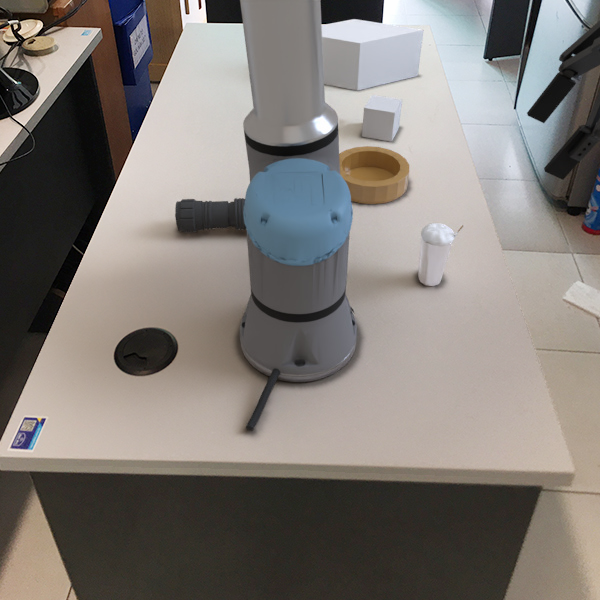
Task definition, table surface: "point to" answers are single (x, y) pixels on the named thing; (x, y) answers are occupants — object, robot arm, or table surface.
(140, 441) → the table surface
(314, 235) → the robot arm
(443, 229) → the milkshake
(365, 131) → the white cube
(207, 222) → the flashlight
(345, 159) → the tan round shallow bowl
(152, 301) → the table surface
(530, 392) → the table surface
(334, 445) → the table surface
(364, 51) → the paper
